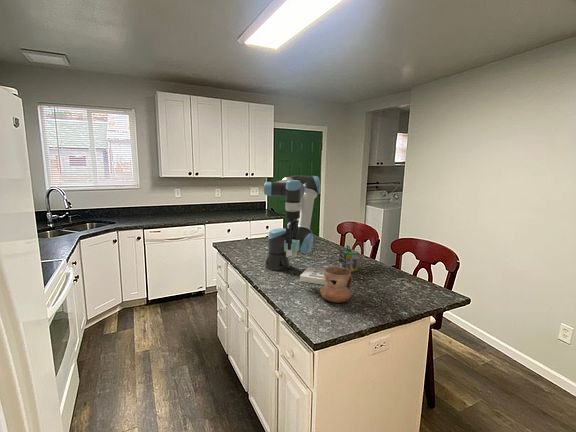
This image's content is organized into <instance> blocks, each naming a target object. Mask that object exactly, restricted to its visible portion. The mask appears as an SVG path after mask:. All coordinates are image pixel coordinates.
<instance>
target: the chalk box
mask: <svg viewBox="0 0 576 432" xmlns="http://www.w3.org/2000/svg"><path fill="white" fill-rule="evenodd" d="M338 254H339V258H338V260H339V261H338V266H339V267H344V268H347V269H349V270H350V271H351V273H353V272H359V271H360V252H359V251H357V250H355V249H352V248H351V246H349V245H346V249H339V253H338Z"/></svg>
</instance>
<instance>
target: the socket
mask: <svg viewBox="0 0 576 432" xmlns="http://www.w3.org/2000/svg"><path fill="white" fill-rule="evenodd" d="M324 269H325V268H322V267H321V268H320V267H319V268H318V267H314V266H313V267H310V266H308V267H307V268H306V269H305V270H304V271H303V272H302V273H301V274H300V275H299V282H304V283H310V284H314V285H321V286H324V285H326V284H327V282H326V281H325V282H322V281H321V279H323V278H325V276H324Z"/></svg>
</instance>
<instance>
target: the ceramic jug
mask: <svg viewBox="0 0 576 432" xmlns="http://www.w3.org/2000/svg"><path fill="white" fill-rule="evenodd" d="M323 269H324V275H325V278H323V279H321V281H322V282H325V281H326V282H327V284H326V285H322V287H321V288H320V291H319V292H320V295H321V297H322V298H323V299H324V300H326V301H328V302H331V303H337V304H338V303H340V304H341V303H344V302H348V301H350V299H351V298H352V291H351V290H350V287H351V285H352V282H353V276H352V272H351V271H350V270H349V269H347V268H344V267H339V265H332V266H331V265H330V266H329V267H326V266H325V267H324V268H323Z"/></svg>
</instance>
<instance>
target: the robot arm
mask: <svg viewBox="0 0 576 432" xmlns="http://www.w3.org/2000/svg"><path fill="white" fill-rule="evenodd" d="M263 194H264V195H265V196H269V197H285V211H284V213H285V215H284V216H285V218H286V219H288V221H287V223H286V224H285V228H284V227H283V228H281V227H280V228H275V229H271V230H269V232H268V238H267V240H268V241H267V245H268V249H267V257H266V259H265V262H264V267H265V269H267V270H270V271H279V272H280V271H286V270H289V268H290V267H291V264H290V259H289V257H292V256H293V254H294V253H293V252H292V250H293V243H292V239H293V240H300V241H299V251H298V252H297V253H302V254H303V253H307V254H308V253H309V252H311V251H312V248H313V245H314V233H313V231H312V230H311V223H312V217H313V210H314V203H315V199H316V198H317V197H318V195H320V194H321V181H320V177H319V176H316V175H299V174H298V175H290V176H288V177H284V178H282V180H277V181H266V182H264V184H263ZM285 240H286V242H285V243H287V255H288V256H289V257H286V251H284V241H285Z"/></svg>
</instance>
